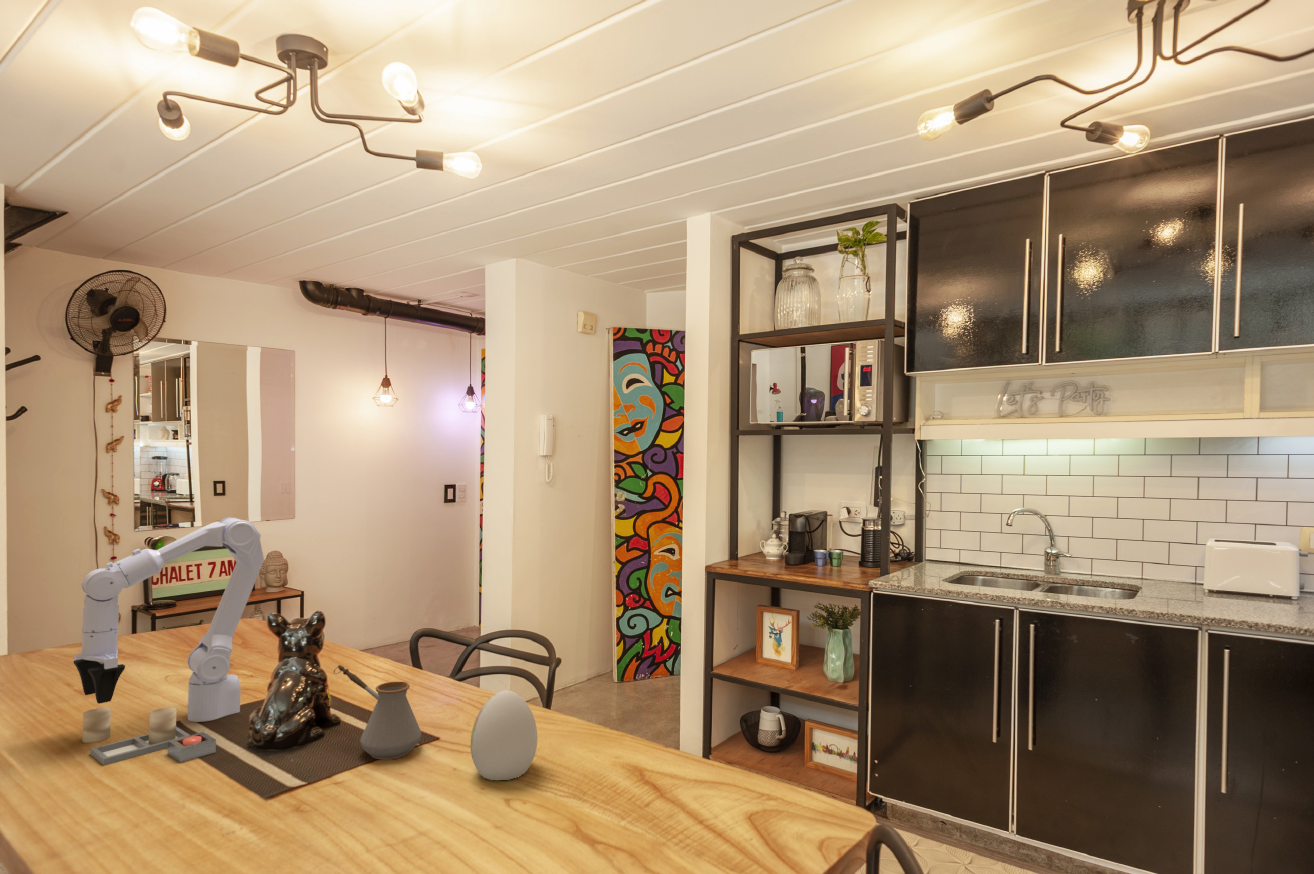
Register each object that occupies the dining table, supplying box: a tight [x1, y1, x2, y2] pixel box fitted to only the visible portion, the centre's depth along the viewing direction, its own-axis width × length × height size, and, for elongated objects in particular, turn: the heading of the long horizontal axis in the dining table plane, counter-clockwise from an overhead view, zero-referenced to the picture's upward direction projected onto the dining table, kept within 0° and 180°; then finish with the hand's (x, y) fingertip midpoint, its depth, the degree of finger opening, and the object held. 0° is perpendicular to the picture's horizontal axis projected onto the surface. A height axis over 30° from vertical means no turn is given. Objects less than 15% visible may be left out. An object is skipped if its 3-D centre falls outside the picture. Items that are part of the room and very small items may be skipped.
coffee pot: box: [333, 664, 422, 760], centre depth 146 cm, size 21×12×15 cm, turn 65°
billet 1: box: [81, 707, 112, 744], centre depth 144 cm, size 4×4×6 cm
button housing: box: [167, 731, 217, 763], centre depth 138 cm, size 6×6×4 cm
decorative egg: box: [470, 689, 538, 781], centre depth 135 cm, size 12×12×15 cm
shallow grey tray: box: [89, 726, 191, 766], centre depth 140 cm, size 14×8×2 cm, turn 143°
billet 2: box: [148, 707, 178, 745], centre depth 143 cm, size 4×4×6 cm
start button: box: [183, 736, 202, 746], centre depth 138 cm, size 3×3×2 cm
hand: (97, 697), depth 144 cm, fingers open, 7 cm apart
